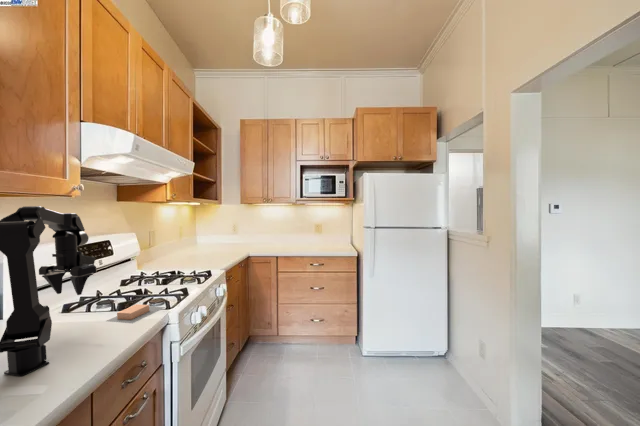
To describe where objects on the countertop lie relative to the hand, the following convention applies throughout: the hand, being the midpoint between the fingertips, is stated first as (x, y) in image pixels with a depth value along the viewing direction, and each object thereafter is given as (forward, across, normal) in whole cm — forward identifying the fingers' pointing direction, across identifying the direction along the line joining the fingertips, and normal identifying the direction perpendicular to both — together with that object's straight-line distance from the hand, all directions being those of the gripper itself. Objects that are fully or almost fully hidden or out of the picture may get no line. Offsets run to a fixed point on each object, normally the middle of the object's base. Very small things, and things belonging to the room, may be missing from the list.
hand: (69, 294), depth 101 cm
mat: (+13, -11, -16) cm, 24 cm away
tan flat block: (+11, -11, -11) cm, 19 cm away
